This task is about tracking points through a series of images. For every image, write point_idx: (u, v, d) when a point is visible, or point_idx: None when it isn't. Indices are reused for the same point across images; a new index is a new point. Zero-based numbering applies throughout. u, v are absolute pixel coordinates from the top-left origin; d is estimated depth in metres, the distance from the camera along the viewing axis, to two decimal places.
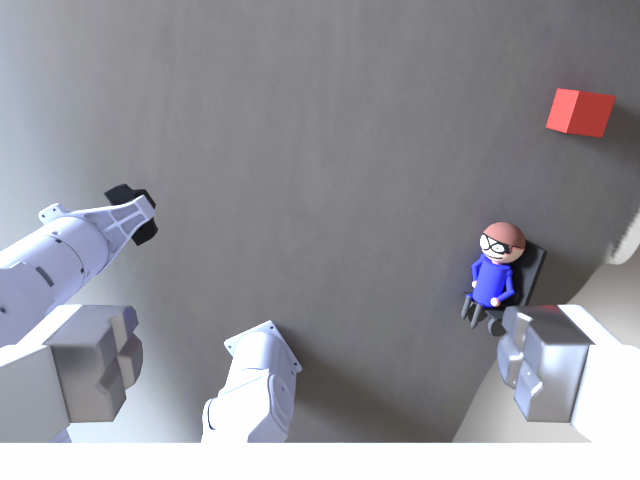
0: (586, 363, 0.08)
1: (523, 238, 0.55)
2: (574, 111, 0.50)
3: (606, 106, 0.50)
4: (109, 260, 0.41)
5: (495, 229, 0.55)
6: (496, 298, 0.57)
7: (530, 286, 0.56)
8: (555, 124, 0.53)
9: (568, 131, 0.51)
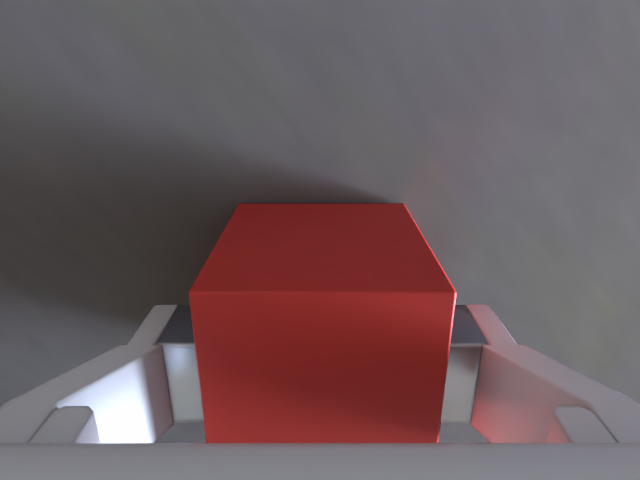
0: (481, 363, 0.08)
1: None
2: (432, 410, 0.08)
3: None
4: None
5: None
6: None
7: None
8: None
9: (438, 301, 0.07)
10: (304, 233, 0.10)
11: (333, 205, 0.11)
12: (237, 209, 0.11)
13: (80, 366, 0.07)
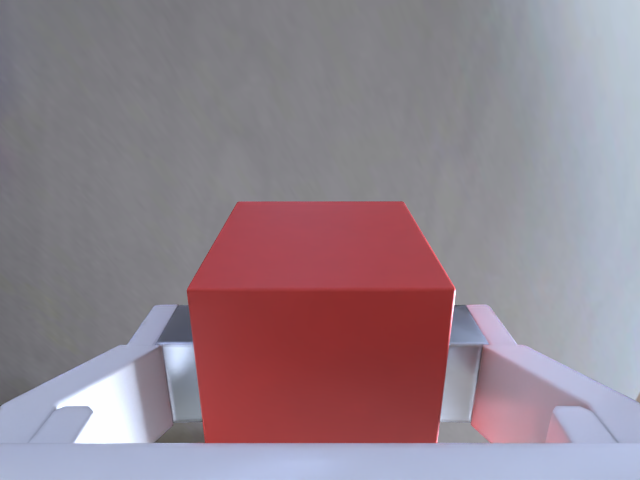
0: (480, 363, 0.08)
1: None
2: (431, 407, 0.08)
3: None
4: None
5: None
6: None
7: None
8: None
9: (438, 299, 0.07)
10: (303, 230, 0.10)
11: (332, 203, 0.11)
12: (236, 207, 0.11)
13: (80, 366, 0.07)
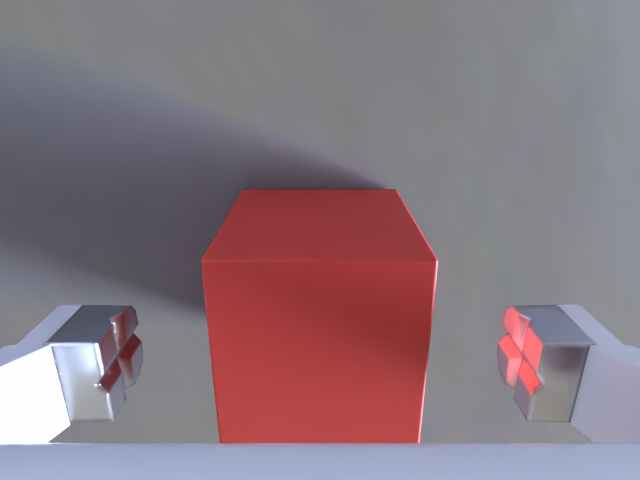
0: (586, 363, 0.08)
1: None
2: (417, 369, 0.09)
3: (250, 408, 0.09)
4: None
5: None
6: None
7: None
8: None
9: (422, 269, 0.08)
10: (303, 213, 0.10)
11: (330, 191, 0.12)
12: (242, 194, 0.12)
13: None
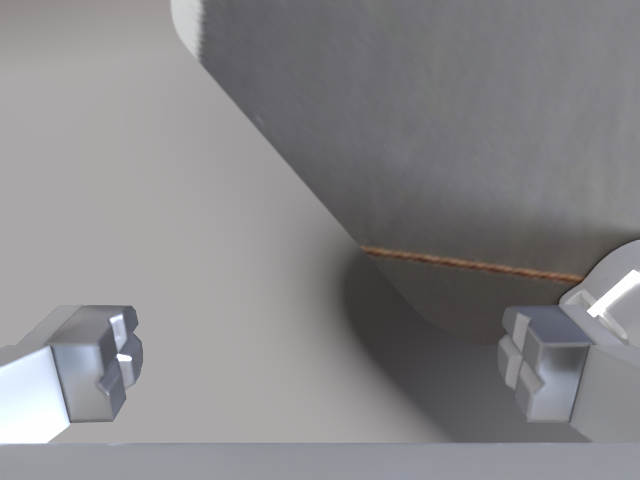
0: (586, 363, 0.08)
1: None
2: None
3: None
4: None
5: None
6: None
7: None
8: None
9: None
10: None
11: None
12: None
13: None
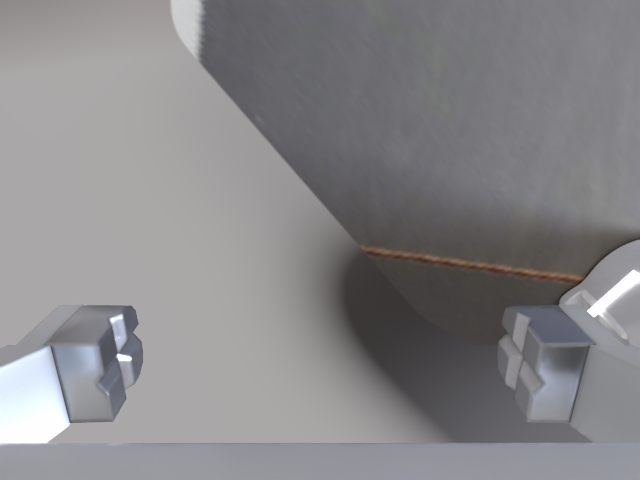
0: (586, 363, 0.08)
1: None
2: None
3: None
4: None
5: None
6: None
7: None
8: None
9: None
10: None
11: None
12: None
13: None
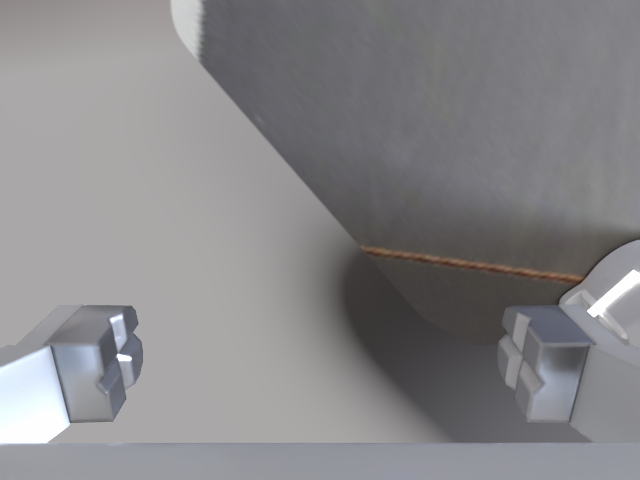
0: (586, 363, 0.08)
1: None
2: None
3: None
4: None
5: None
6: None
7: None
8: None
9: None
10: None
11: None
12: None
13: None
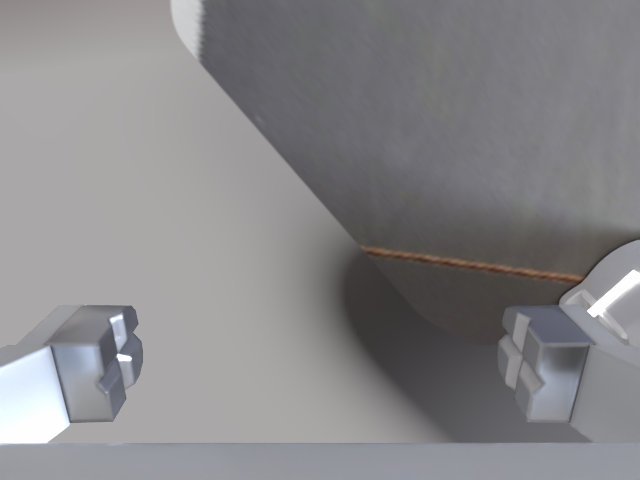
0: (586, 363, 0.08)
1: None
2: None
3: None
4: None
5: None
6: None
7: None
8: None
9: None
10: None
11: None
12: None
13: None
